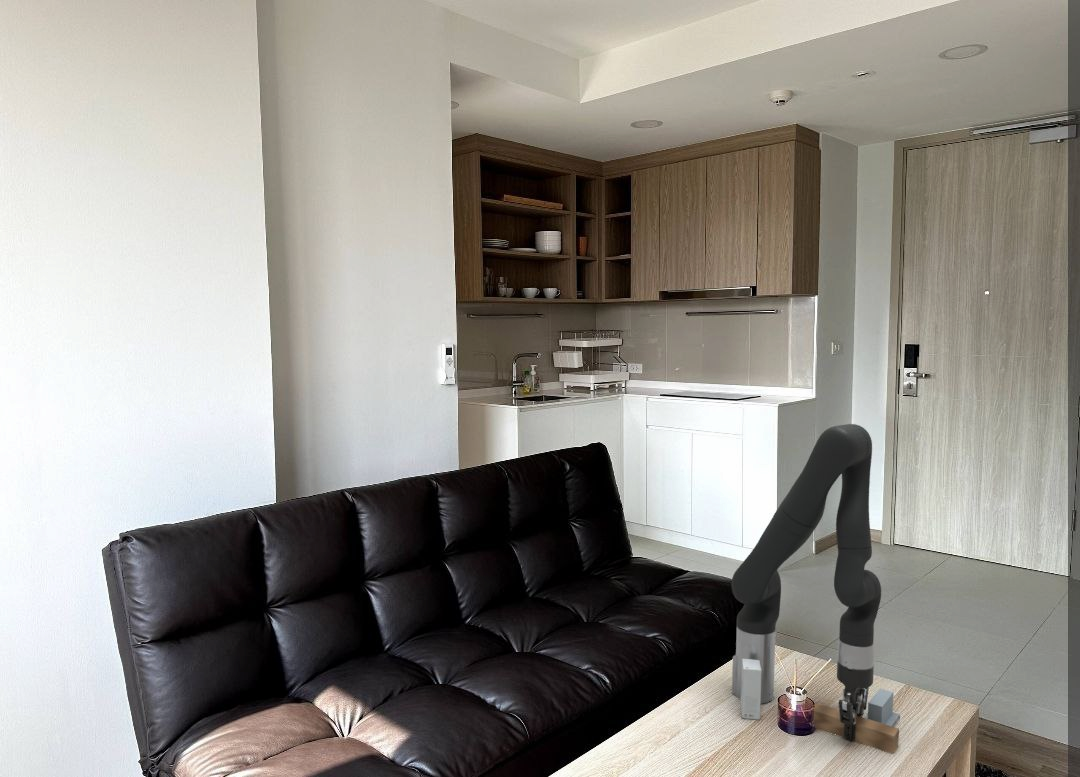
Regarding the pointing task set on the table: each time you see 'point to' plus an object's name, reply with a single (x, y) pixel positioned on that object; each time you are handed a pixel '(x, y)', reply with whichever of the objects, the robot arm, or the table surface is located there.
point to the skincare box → (750, 689)
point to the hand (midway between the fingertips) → (852, 734)
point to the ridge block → (882, 708)
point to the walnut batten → (858, 729)
